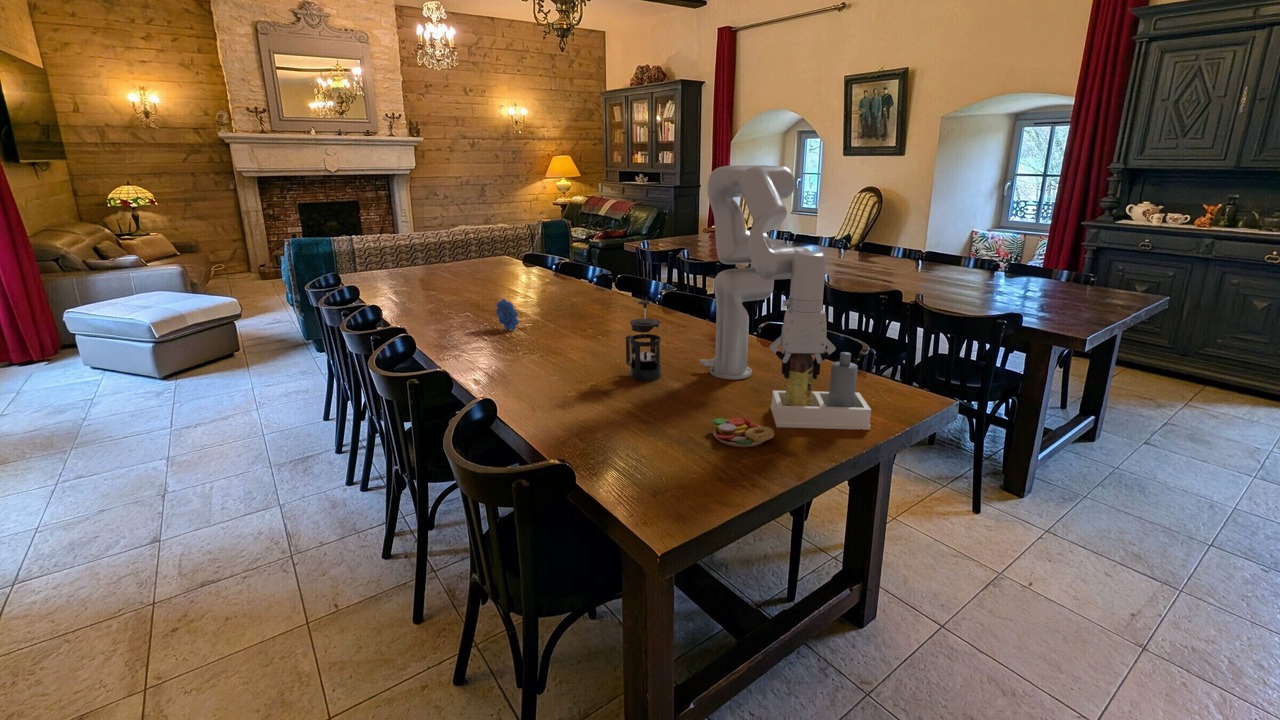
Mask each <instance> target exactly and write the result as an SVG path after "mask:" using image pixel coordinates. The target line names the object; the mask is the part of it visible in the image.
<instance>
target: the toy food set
mask: <svg viewBox="0 0 1280 720" xmlns="http://www.w3.org/2000/svg"><path fill="white" fill-rule="evenodd" d="M712 424H713V426H714V427H713V429H712V434H713V436H714V438H716V440H718V441H719V442H720V443H721V444H725V445H727V446H731V447H733V448H734V447H737V448H752V447H757V446H759V445H762V444H763V443H764V442H766V441H769V440H771V439H772V438H774V436H775V431H774V429H773V428H771V427H768V426H762V425H758V424H756V423H752V422H751V420H750V419H749V418H747V417H731V418H729V419H726V418H723V417H717V418H713V419H712Z"/></svg>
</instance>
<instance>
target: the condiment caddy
mask: <svg viewBox="0 0 1280 720" xmlns="http://www.w3.org/2000/svg"><path fill="white" fill-rule="evenodd" d="M839 356H840V357H839V361H835V362H834V361H833V362H832V363H831V368H830V379H829V389H828V391H813V390H812V398H811V405H810V406H785V405H786V402H785V398H786V390H772V395H771V396H772V398H771V404H770V411H771V414H772V417H773V421H774V423H775V427H776V428H787V429H788V428H793V429H797V428H798V429H800V428H801V429H824V430H825V429H827V430H828V429H830V430H831V429H835V430H861V429H862V431H863V430H864V431H865V430H867V431H870V430H871V429H872V428H871V415H872V414H871V413H872V408H871V407H870V406H869V405H868V403H867V401H866V400H865V398H864V397H863V395H861V393H860V392H856V388H857V387H856V386H857V377H858V368H859V366H858V365H857V364H855V363H854V362H851V357H852V353H851V352H848V351H847V352H846V351H842V352H840V353H839Z"/></svg>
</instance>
